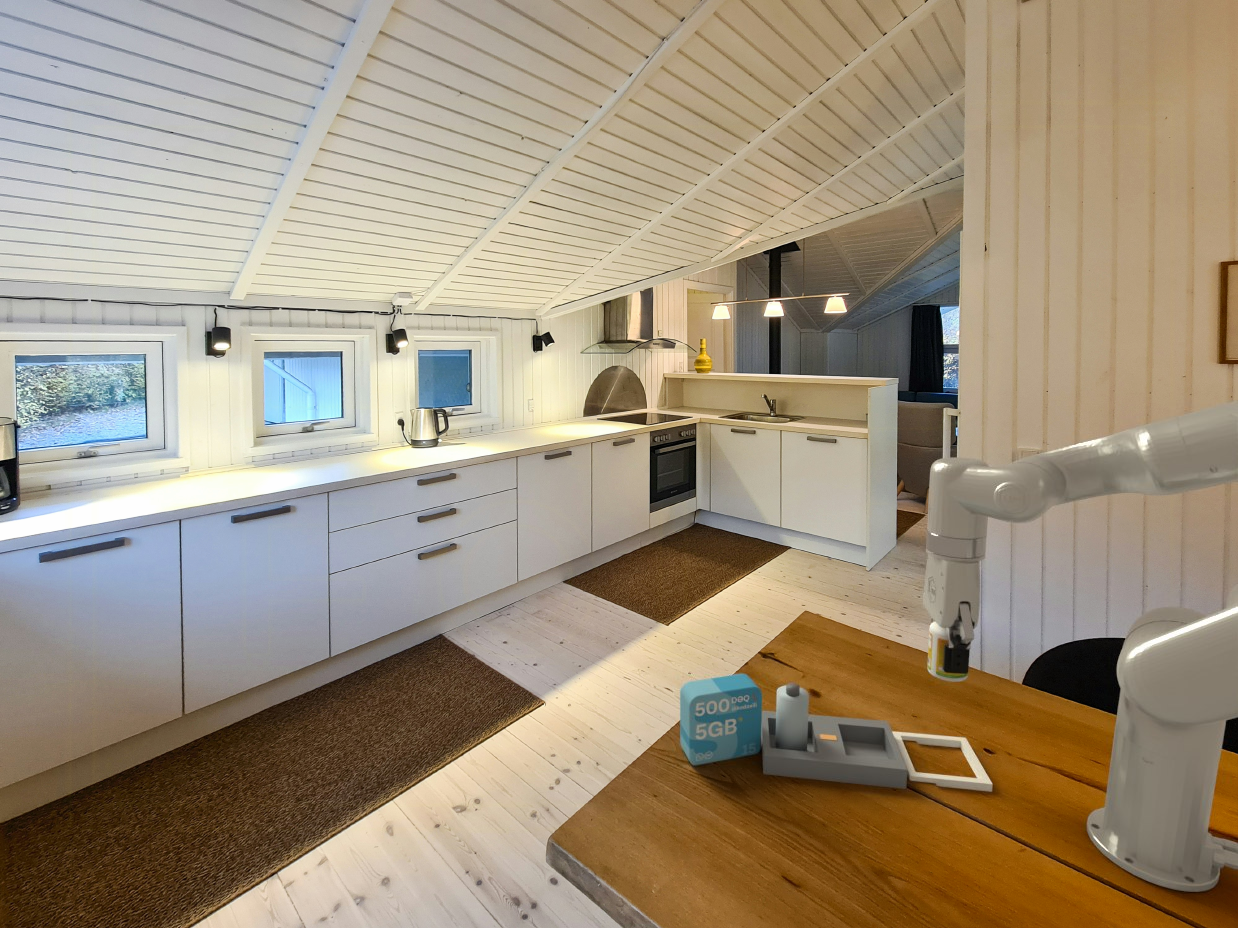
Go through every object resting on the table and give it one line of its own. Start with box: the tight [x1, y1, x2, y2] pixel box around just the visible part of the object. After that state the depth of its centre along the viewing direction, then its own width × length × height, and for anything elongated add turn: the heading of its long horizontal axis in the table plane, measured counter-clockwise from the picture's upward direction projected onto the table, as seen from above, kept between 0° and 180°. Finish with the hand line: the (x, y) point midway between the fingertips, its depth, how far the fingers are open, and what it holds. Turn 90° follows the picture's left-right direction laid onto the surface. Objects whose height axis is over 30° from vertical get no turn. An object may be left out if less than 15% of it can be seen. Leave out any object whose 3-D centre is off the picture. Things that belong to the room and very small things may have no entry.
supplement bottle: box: [927, 621, 971, 683], centre depth 91 cm, size 5×5×10 cm
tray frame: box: [892, 730, 993, 793], centre depth 95 cm, size 11×11×1 cm
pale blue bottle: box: [775, 682, 810, 751], centre depth 97 cm, size 5×5×11 cm
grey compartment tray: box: [761, 710, 908, 790], centre depth 96 cm, size 20×12×4 cm, turn 79°
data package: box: [679, 673, 763, 766], centre depth 97 cm, size 12×4×12 cm, turn 104°
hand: (948, 660), depth 92 cm, fingers closed on supplement bottle, 5 cm apart
